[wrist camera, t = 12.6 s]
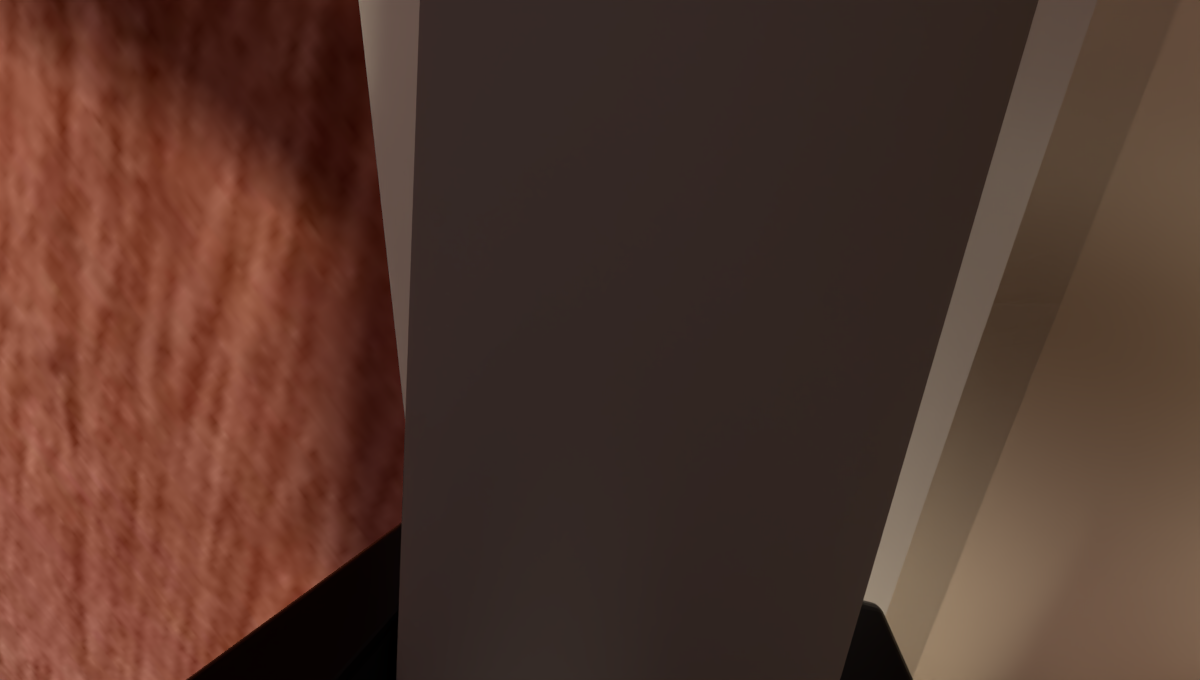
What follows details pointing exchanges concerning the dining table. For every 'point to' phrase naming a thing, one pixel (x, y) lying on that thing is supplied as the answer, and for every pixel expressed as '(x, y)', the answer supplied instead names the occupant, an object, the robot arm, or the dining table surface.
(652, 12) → the dark grey cylinder rod
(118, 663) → the dining table surface
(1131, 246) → the holder
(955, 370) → the mat
